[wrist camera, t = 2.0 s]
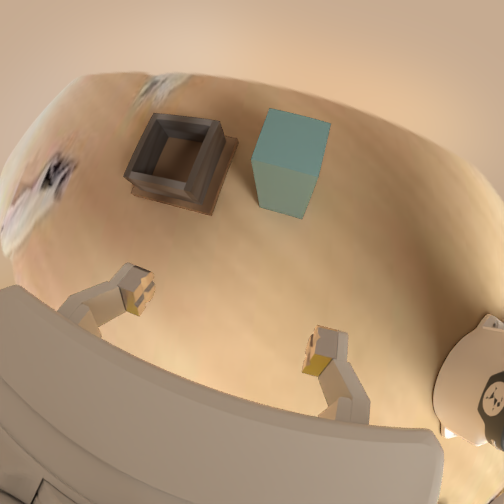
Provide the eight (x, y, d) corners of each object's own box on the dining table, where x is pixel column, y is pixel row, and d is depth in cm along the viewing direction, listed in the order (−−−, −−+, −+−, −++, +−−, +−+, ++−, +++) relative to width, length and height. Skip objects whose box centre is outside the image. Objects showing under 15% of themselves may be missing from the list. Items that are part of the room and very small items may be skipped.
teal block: (312, 180, 31) (330, 123, 19) (302, 219, 30) (318, 177, 19) (271, 168, 31) (269, 108, 20) (259, 207, 31) (250, 159, 19)
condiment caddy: (238, 142, 32) (232, 117, 27) (211, 216, 31) (199, 201, 26) (163, 130, 34) (148, 108, 28) (134, 195, 32) (113, 180, 27)
